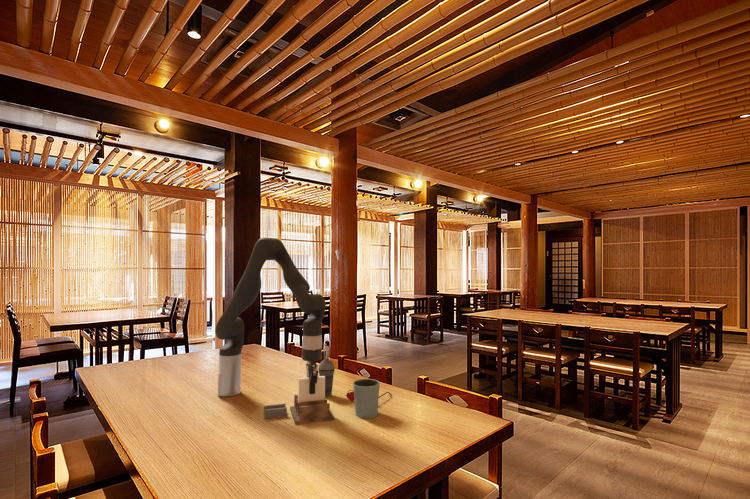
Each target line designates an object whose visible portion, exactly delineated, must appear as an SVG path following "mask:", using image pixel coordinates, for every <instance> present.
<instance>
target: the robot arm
mask: <svg viewBox="0 0 750 499" xmlns="http://www.w3.org/2000/svg"><path fill="white" fill-rule="evenodd" d="M266 261H275V262H276V263H277V264H278V265H279V267H280V268H281V270H282V275H283V276H282V277H283V281H284V283H285V285H286V286H287V288H288V289H289V290H290V292H291V293H292V294H293V295H294V296H293V297H294V298H295V301H296V303H297V306H298V308H299V310H300V311H302V313H305V314H309V317H308V318H307V319H305V320H304V321H303V323H302V325H303V326H302V341H301V342H302V343H301V360H302V361H305V362H307V363H306V364H305V369H306V371H305V372H306V377H308V378H309V394H315V384H316V383H317V377H318V376H319V370H318V368H319V365H318V364H317V362H318V361H320V360H321V361H322V358H323V337H322V323H323V320H324V316H325V311H326V307H327V306H326V305H327V304H326V299H325V297H324V296H323V295H321V294H319V293H315V294H313V293H311V294H310V293H309V291H310V289H311V286H310V284H309V282H308V281H307V280H306V279H305V277H304V276H303V275H302V273H301V272H300V271H299V269H298V267H297V266H296V265H295V263H294V261H293V259H292V258H291V256H290V253H289V252H288V251H287V249H286V247H285V245H284V243H283V242H282V241H281V240H280V239H278V238H272V237H261V238H259V239H258V240H257V241H256V242H255V244H254V246H253V249H252V252H251V255H250V258H249V259H248V263H247V265H246V267H245V270H244V272H243V274H242V276H241V278H240V280H239V282H238V284H237V286H236V287H235V290H234V293H233V294H232V296H231V298H230V300H229V303H228V305H227V306H226V308H225V310H224V311H223V312H222V315H221V316H220V318H219V319H218V320H217V323H216V325H215V329H214V330H215V332H214V333H215V336H216V338H218V340H221V341H222V340H223V341H224V340H227V342H226V343H225V344H224V345H222V346H221V347H220V348H219V350H218V351H219V353H218V358H219V359H218V377H217V378H218V382H217V384H218V385H217V389H218V390H217V397H233V396H237V395H239V394H241V389H242V387H241V383H242V382H241V381H242V350H243V347H244V341H245V340H244V339H245V324H244V321H243V319H242V318H241V317H239V316H240V315H241V314H242V313H243V312H244V311H246V309H248V308H249V307H250V306H251V305H252V304H253V303H254V302H255V301H256V299H257V297H258V295H259V293H260V292H261V289H262V279H261V272H262V268H263V266H264V264H265V262H266ZM313 379H314V380H313Z"/></svg>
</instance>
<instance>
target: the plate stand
mask: <svg viewBox="0 0 750 499" xmlns="http://www.w3.org/2000/svg"><path fill="white" fill-rule="evenodd" d="M286 405H287V404H286V403H285V402H284V403H277V404H276V403H275V404H267V405H263V415H264V416H263V418H264V419H265V420H266V419H273V418H283V417H287V416H288V415H287V414H288V412H287V410H288V408H287V406H286Z"/></svg>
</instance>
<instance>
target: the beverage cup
mask: <svg viewBox="0 0 750 499" xmlns="http://www.w3.org/2000/svg"><path fill="white" fill-rule="evenodd" d="M323 356H324V359H323V360H321V361H320V363H319V365H318V376H325V398H330V397H332V394H333V385H334V384H333V383H334V376H335V375H334V374H335V369H336V368H335V365H334V364H335V363H334V362H333V361H332V359H329V358H327V357H326V350H325V348H324V349H323Z"/></svg>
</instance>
